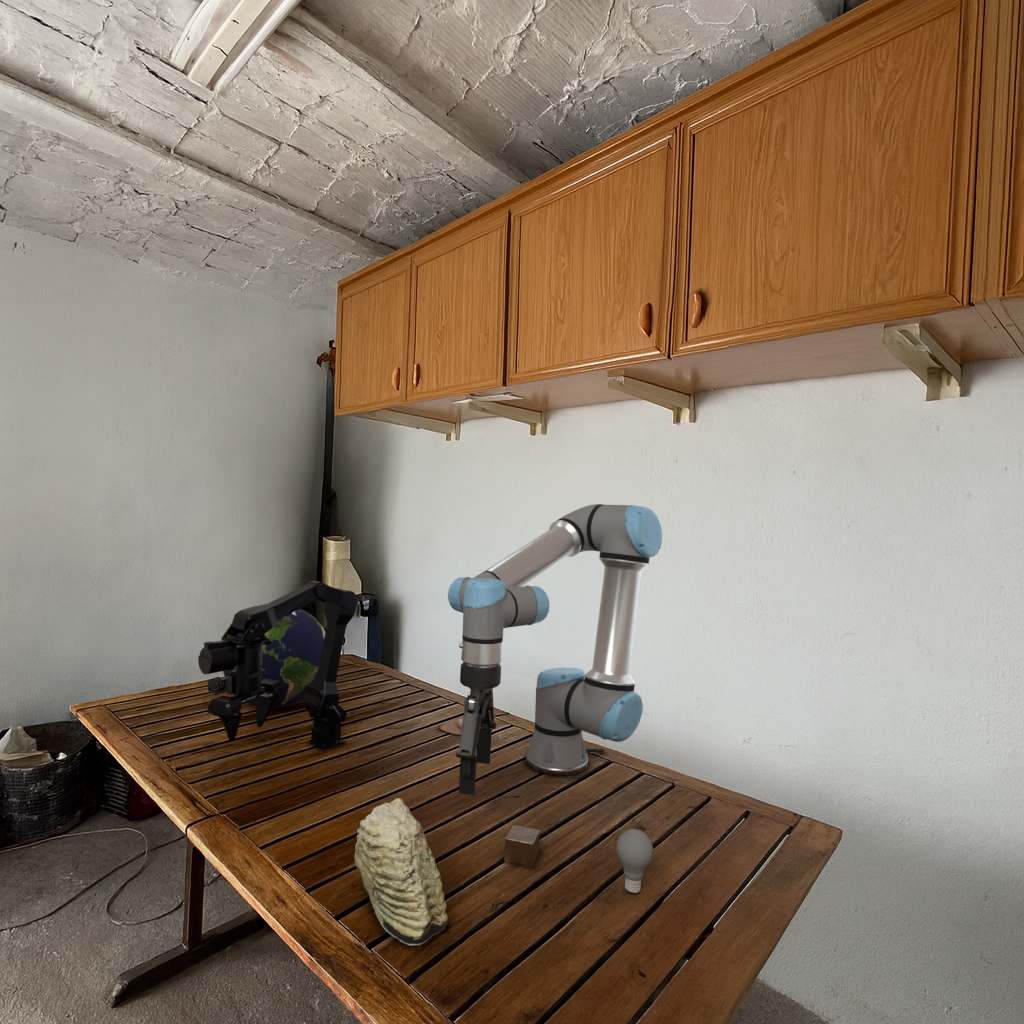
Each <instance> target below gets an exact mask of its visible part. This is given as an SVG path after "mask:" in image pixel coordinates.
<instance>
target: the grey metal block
mask: <svg viewBox="0 0 1024 1024" xmlns="http://www.w3.org/2000/svg"><path fill="white" fill-rule="evenodd" d="M540 835H541V830H540V829H538V828H537V829H536V828H531V827H527V826H522V825H516V824H513V825H512V827H511V828H510V830H509V831H508V833H507V835H505V839H504V858H503V862H505V863H509V864H514V865H517V866H521V867H522V866H523V867H527V868H533V866H534V863H535V862H536V860H537V858H538V855H539V853H540V837H541V836H540Z"/></svg>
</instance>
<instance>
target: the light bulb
mask: <svg viewBox="0 0 1024 1024" xmlns="http://www.w3.org/2000/svg"><path fill="white" fill-rule="evenodd" d="M615 849H616V854H617V857H618V859H619V861H620V863H621V865H622V867H623V873H624V874H623V875H624V876H625V878H624V888H625V890H627V891H628V892H630V893H634V894H635V893H639V892H640V891H641V889H642V887H641V886H642V879H643V877H644V875H645V871H646V868H647V867H648V866H649V864H650V863H651V861H652V859H653V855H654V847H653V843H652V841H651V838H649V836H648V835H647V834H646V833H645V832H643V831H642V830H641V829H636V828H629V829H627V830H625V831H623V832H622V833H621V834H620V835H619V837H618V839H617V841H616V847H615Z"/></svg>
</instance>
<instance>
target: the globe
mask: <svg viewBox="0 0 1024 1024" xmlns="http://www.w3.org/2000/svg"><path fill="white" fill-rule="evenodd" d="M325 631H326V630H325V629H324V627H323V626H322V624H321V623H320V621H318V619H317V618H315V616H314V615H312V614H311V613H310V612H308V611H305V610H304V609H302V608H300V609H298V610H296V611H294V612H293V613H291V614H289V615H287V616H285V617H283V618H281V619H280V620H279V621H277V622H276V624H275V625H274V626H273V628H272V629H270V630H269V631H268V632H267V633H265V636H266V637H267V638H268V639H269V640H271V641H272V643H271V644H268V645H263V650H262V669H266V674H263V675H262V678H261V680H263V679H270V680H277V681H281V683H282V684H283V693H282V694H279V695H280V697H279V698H278V699H277V700H276V702H275V704H274V705H273V707H272V709H282V708H285V707H289V706H293V705H295V704H298V703H299V702H301V701H303V698H304V696H305V688H306V686H307V685H310V686H311V685H312V684H313V682H314V681H315V680H316V677H317V673H318V667H319V662H320V657H321V652H322V647H323V642H324V637H325ZM237 636H240V637H242V636H243V635H241V634H237ZM233 670H235V667H234V668H233V669H231V670H226V671H222V673H223V676H224V678H226V677H229V674H230V672H231V671H233ZM245 703H247V704H248V705H251V706H254V707H256V702H255V701H254V699H250V700H248V701H246V702H245ZM272 709H271V710H272Z"/></svg>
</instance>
